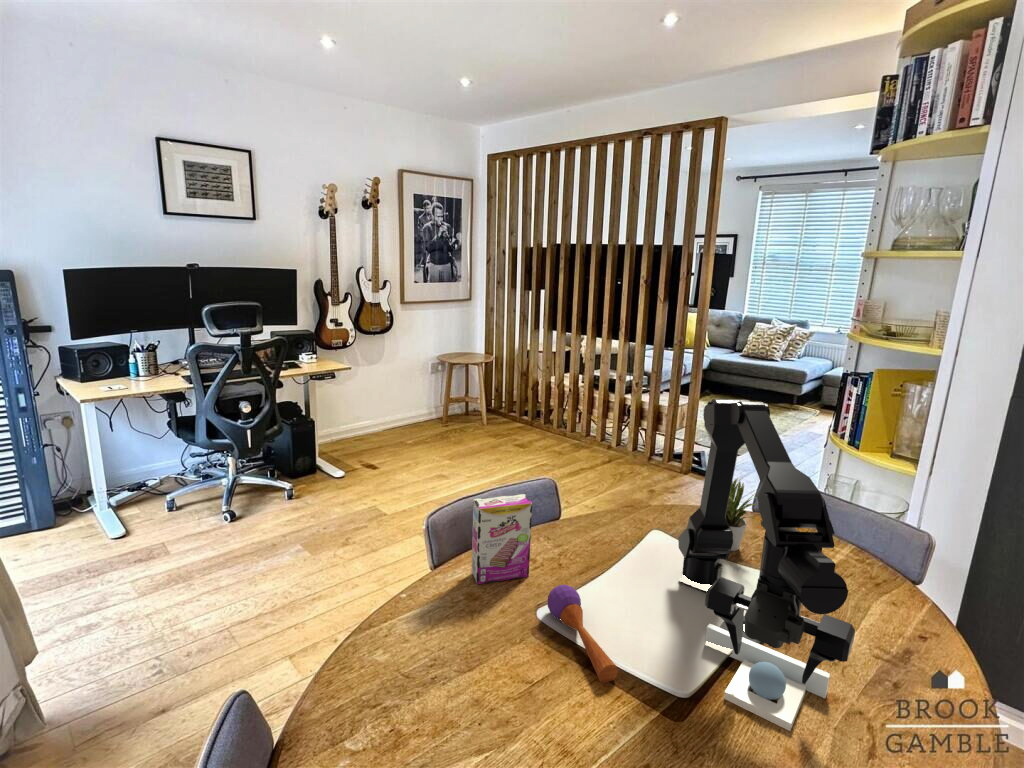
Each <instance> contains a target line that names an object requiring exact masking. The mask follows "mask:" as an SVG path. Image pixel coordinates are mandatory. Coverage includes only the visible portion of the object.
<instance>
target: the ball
mask: <svg viewBox="0 0 1024 768" xmlns="http://www.w3.org/2000/svg"><path fill="white" fill-rule="evenodd" d="M749 683H750V686H751V688H752V689H751V690H752V691H753V693H755V694H757V695H759V696H761V697H763V698H765V699H767V700H769V701H774V700H779V698H780V697H781V696H782V695H783V693H784V692H785V689H786V681H785V677H784V675H783V673H782V672H781V670H780V669H779V668H778V667H777V666H775V665H774V664H772V663H769V662H759V663H756V664H755V665H753V666H752V668H751V669H750V672H749Z"/></svg>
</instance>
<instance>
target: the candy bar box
mask: <svg viewBox="0 0 1024 768" xmlns="http://www.w3.org/2000/svg"><path fill="white" fill-rule="evenodd" d="M472 502H473V503H472V538H471V543H472V545H471V574H472V577H473V578H474V580H475V583H476V585H483V584H488V583H489V584H490V583H496V582H502V581H509V580H515V579H523V578H528V577H530V558H531V540H532V539H531V537H532V520H533V519H532V516H533V502H532V500H531V499H530V498H528V496H527V495H526V494H525V493H522V494H521V493H520V494H513V495H512V494H511V495H503V496H493V497H492V496H490V497H482V498H480V497H479V498H473V501H472Z"/></svg>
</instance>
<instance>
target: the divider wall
mask: <svg viewBox="0 0 1024 768" xmlns="http://www.w3.org/2000/svg"><path fill="white" fill-rule="evenodd" d="M705 633H706V634H705V641H708V642H711V643H714V644H716V645H720V646H722V647H726V648H730V649H733V645H732V642H731V638H730V634H729V631H726V630H724V629H722V628H720V626H716V625H714V624H711V623H709V624H708V625H707V626H706V632H705ZM729 657H730V658H732V659H734V660H738V661H739V662H741V663H742V662H743V660H746V661H749V662H751V663H753V664H756V663H759V662H769V663H772V664H774V665H775V666H777V667H778V668H779V669H780V670H781V672H782V673H783V675H784V677H785V678H787V679H790V680H792V681H794V682H796V683H799V684H801V685H803V686H806V691H807V692H809V693H812V694H814V695H816V696H818V697H820V698H823V699H826V697H827V695H828V689H829V683H830V677H831V673H830V672H827V671H826V670H822V669H820V668H817V667H816V669H815V670H814V671H813V673H812V674H811V676H810V677H809V679H808V680H807V682H806V683H805V684H803V683H802V677H803V673H804V670H805V667H806V664H807V662H806V663H805V662H804V661H801V660H799V659H795V658H793V657H791V656H788V655H786V654H784V653H781V652H779V651H777V650H774V649H772V648H771V647H767V646H764V645H763V644H761V643H760V644H758V643H755V642H753V641H750V640H748V639H746V638H743V637H742V643H741V648H740V652H739V654H738V655H737V654H735V652H734V649H733V652H732V654H731V655H730V656H729Z"/></svg>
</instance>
